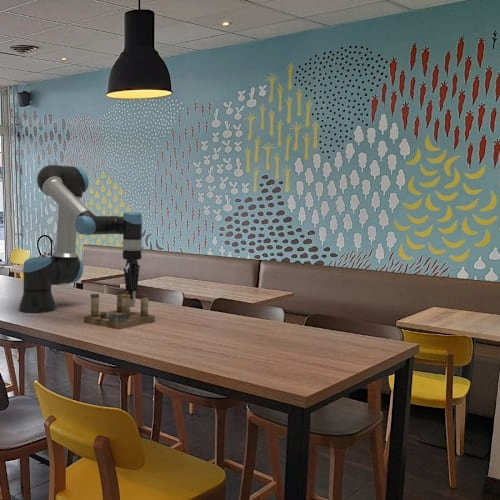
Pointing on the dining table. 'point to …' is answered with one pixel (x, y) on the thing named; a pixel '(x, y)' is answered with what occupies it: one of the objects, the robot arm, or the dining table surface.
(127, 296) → the swing leg
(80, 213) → the robot arm
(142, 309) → the stool seat
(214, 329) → the dining table surface
